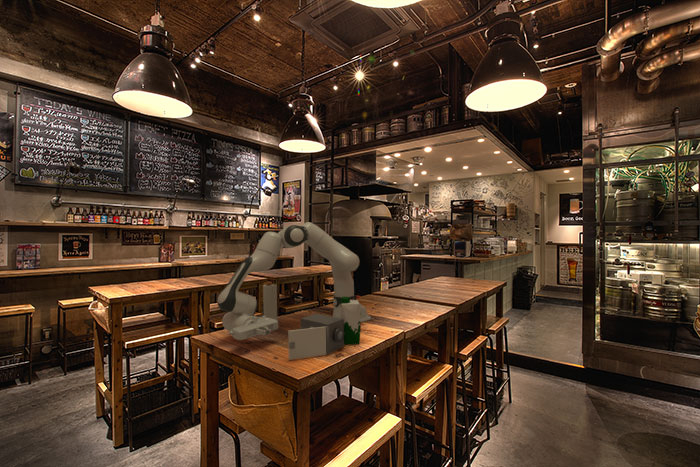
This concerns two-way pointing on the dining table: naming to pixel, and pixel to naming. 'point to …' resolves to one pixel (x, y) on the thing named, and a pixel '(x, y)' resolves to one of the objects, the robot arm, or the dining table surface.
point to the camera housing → (334, 328)
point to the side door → (308, 342)
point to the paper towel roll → (270, 301)
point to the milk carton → (350, 320)
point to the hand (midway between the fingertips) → (267, 332)
